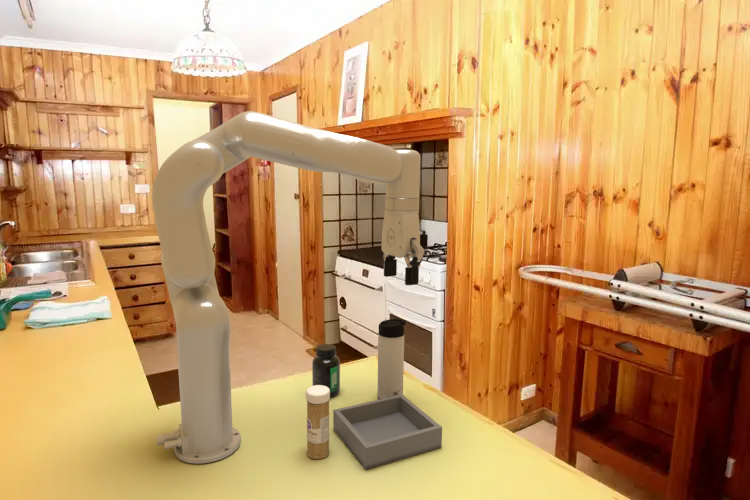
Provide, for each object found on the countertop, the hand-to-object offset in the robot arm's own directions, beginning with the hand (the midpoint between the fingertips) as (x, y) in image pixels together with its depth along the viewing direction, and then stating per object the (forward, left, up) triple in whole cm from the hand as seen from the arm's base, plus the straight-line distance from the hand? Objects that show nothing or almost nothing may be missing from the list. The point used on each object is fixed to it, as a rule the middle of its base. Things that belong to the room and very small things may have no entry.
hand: (400, 280), depth 111 cm
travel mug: (0, +3, -31) cm, 31 cm away
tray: (-10, -12, -30) cm, 34 cm away
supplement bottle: (-13, +13, -31) cm, 36 cm away
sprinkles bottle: (-24, -11, -31) cm, 41 cm away
